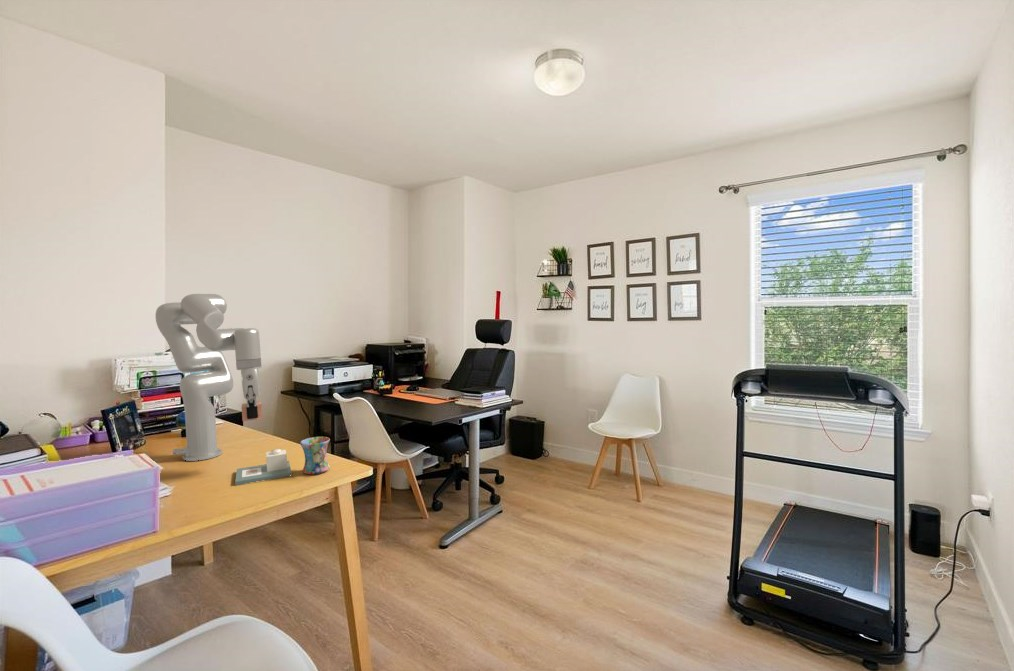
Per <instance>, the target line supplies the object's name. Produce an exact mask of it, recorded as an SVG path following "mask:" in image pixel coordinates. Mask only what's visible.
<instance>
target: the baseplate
mask: <svg viewBox="0 0 1014 671" xmlns="http://www.w3.org/2000/svg"><path fill="white" fill-rule="evenodd" d="M265 455H266V456H265V458H266V461H265V462H266V464H260V465H259V464H258V465H252V466H246V467H241V468H236V473H235V486H240V484H242V485H246V484H245V483H248V484H251V483H250V482H254V483H257V482H256V481H259V482H263V481H262V480H265V481H269V480H268V479H271V480H275V479H274V478H277V479H281V478H280V477H283V478H286V477H285V476H289V477H291V476H290V475H292V474H293V472H292V469H291V464H290V461H289V460H288V458H287V449H280V448H275V449H272V450H271V451H266V452H265Z"/></svg>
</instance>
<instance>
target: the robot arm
mask: <svg viewBox="0 0 1014 671" xmlns="http://www.w3.org/2000/svg"><path fill="white" fill-rule="evenodd" d="M227 305H228V304H227V301H226V300H225V298H224V297H223V296H222V295H219V294H216V293H190V294H188V295H185V296H184V297H183V298H182V299H181V301H180V302H176V301H175V302H166V303H162V304H161V305H158V307H157V308H156V311H155V323H156V326H157V328H158V331H159V332H160V333H161V335H162V336H163V338H164V339H165V340H166V343H167V344H168V347H169V350H170V352H171V355H172V358H173V360H174V363H175V365H176V367H177V369H178V371H179V372H181V373H184V374H187V375H185V376H183V377H182V378H181V380H180V381H179V390H180V394H181V397H182V401H183V408H184V420H185V438H186V446H183V447H182V448H173V449H172V455H176V456H178V455H182V460H183V461H185V460H186V461H185V462H197V461H198V460H199V461H204V460H210V459H213V458H216V457H219V456H220V455H222V454H223V450H222V449H221V448H218V442H217V441H218V440H217V439H218V438H217V423H216V409H215V405H213V403H212V402H211V401H210V400H209V399H208V398H210V397H215V396H221V395H226V394H228V393H230V392H232V390H233V388H234V379H233V376H232V373H231V371H230V368H229V366H228V363H227V360H226V357H225V355H224V354H223V352H225V351H234V352H235V366H236V370H237V371H240V377H241V378H240V379H241V386H242V387H241V388H242V392H243V397H244V399H245V400H246V403H247V407H246V409H247V419H254V418H258V410H257V406H256V402H257V398H260V397H261V381H260V371H259V369H262V359H261V357H262V356H261V343H260V342H261V341H260V331H259V329H257V328H254V327H253V328H252V327H251V328H250V327H249V328H245V327H244V328H243V327H241V328H240V327H239V328H238V327H237V328H236V327H235V328H232V327H230V328H220V327H221V326H222V325H223V323H224V320H225V313H226V311H227V308H228V306H227ZM183 325H196V330H195V331H196V332H195V333H196V337H197V339H198V341H199V342H200V343H201V344H202V345H203V346H199V345H198V344H197V342H196V339H195V337H194V335H193V334H192V333H191V331H188V329H186V328H185V327H183ZM254 405H255V406H254ZM199 461H198V462H199Z"/></svg>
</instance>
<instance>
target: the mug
mask: <svg viewBox="0 0 1014 671" xmlns="http://www.w3.org/2000/svg"><path fill="white" fill-rule="evenodd" d="M330 441H331V439H330V437H327V436H314V437H308V438H305V439H302V440H300V442H299V444H300V446H301V448H302V450H303V454H304V466H303V469H302V472H303V473H304V474H307V475H317V474H322V473H325V472H326V471H329V470H330V468H331V467H330V466H331V465H329V464H330V463H329V462H328V459H327V453H328V452H327V451H328V446H329V443H330Z"/></svg>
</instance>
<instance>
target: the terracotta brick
mask: <svg viewBox="0 0 1014 671" xmlns="http://www.w3.org/2000/svg"><path fill="white" fill-rule="evenodd" d="M262 404H263V403H262V401H256V406H257V410H258V418H254V419H247V409H246V407H247V402H246V403H241V417H242V422H247V421H255V420H263V418H264V416H263V405H262ZM254 406H255V405H254Z"/></svg>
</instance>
